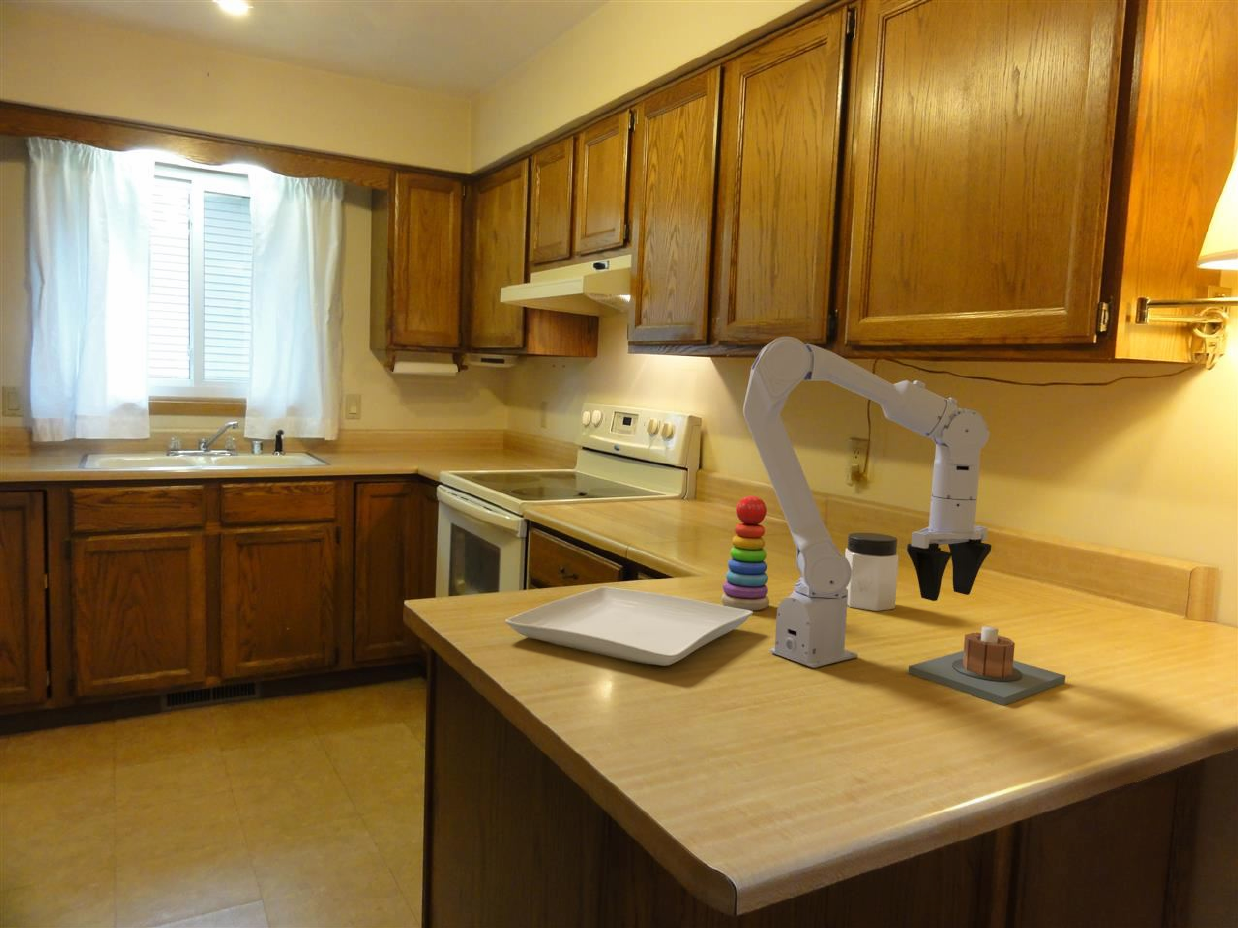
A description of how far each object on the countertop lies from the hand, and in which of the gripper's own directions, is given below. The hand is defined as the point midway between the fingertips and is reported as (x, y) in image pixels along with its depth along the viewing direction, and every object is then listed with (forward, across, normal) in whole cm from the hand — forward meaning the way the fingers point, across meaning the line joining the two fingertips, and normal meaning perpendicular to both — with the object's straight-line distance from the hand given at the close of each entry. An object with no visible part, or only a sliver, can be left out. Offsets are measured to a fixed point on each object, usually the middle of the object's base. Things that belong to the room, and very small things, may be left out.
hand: (945, 596), depth 115 cm
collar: (+8, 0, -7) cm, 11 cm away
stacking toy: (+10, -3, +35) cm, 36 cm away
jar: (+10, +17, +25) cm, 32 cm away
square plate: (+10, -30, +31) cm, 44 cm away
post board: (+9, 0, -7) cm, 12 cm away
